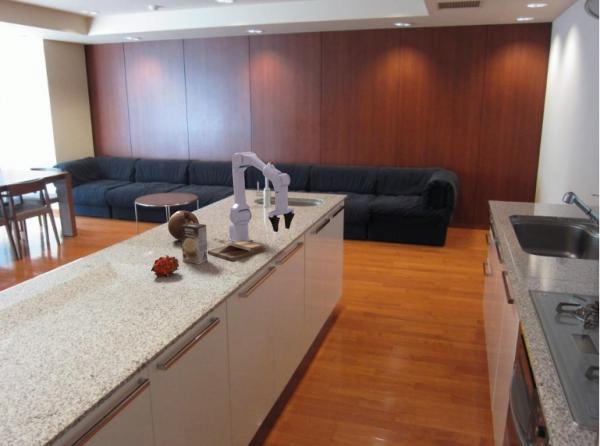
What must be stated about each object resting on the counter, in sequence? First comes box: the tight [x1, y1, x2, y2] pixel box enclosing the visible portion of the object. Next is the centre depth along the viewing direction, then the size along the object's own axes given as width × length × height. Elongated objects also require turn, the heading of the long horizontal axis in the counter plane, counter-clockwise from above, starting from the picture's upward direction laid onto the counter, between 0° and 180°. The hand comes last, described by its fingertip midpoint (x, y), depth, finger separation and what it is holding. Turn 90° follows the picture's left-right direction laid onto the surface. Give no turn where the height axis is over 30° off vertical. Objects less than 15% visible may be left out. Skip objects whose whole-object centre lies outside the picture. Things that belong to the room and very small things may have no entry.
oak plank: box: [213, 237, 251, 251], centre depth 221 cm, size 14×10×1 cm
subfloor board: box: [207, 240, 265, 262], centre depth 224 cm, size 16×20×3 cm
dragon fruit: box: [150, 254, 180, 277], centre depth 194 cm, size 8×8×12 cm
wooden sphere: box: [167, 210, 200, 242], centre depth 242 cm, size 15×15×15 cm
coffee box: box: [181, 223, 208, 265], centre depth 210 cm, size 9×6×16 cm
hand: (281, 230), depth 223 cm, fingers open, 7 cm apart
